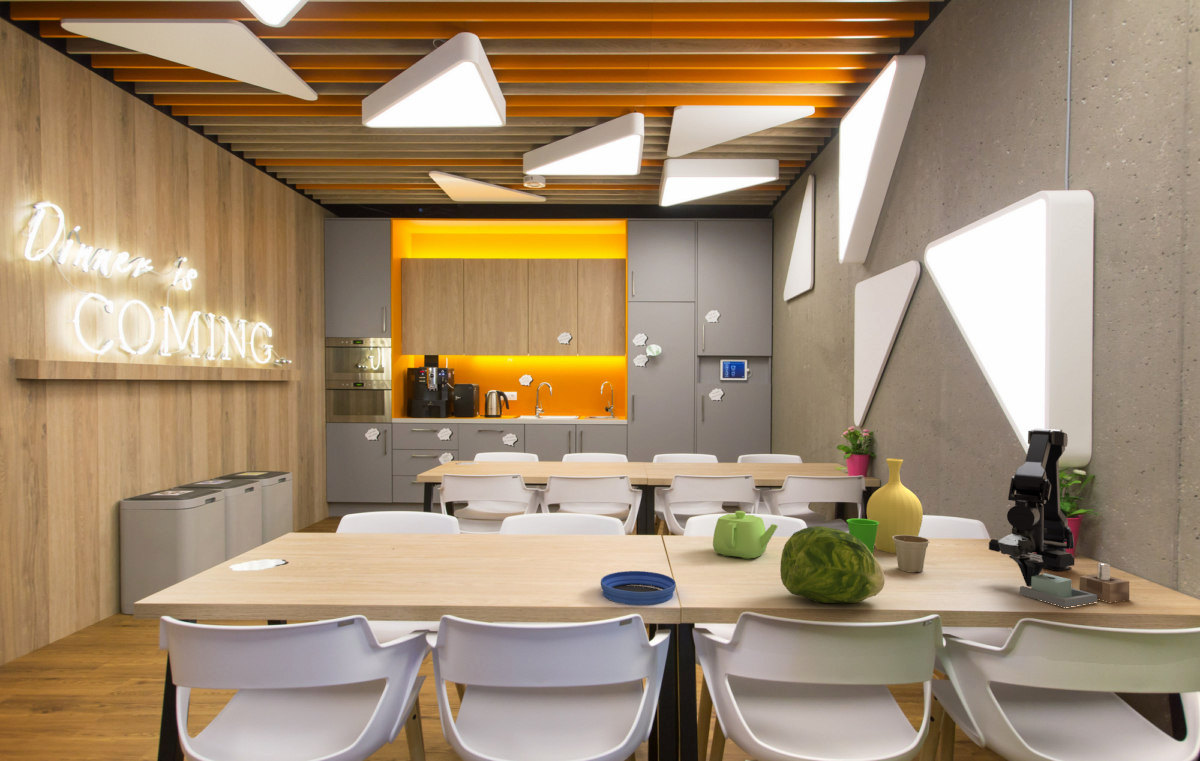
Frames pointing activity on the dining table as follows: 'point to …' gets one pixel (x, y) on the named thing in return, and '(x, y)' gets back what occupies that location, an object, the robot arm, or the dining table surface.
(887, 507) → the vase
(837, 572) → the lettuce
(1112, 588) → the block
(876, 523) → the cup
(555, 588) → the dining table surface
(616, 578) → the bowl
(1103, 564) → the cylinder
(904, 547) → the flower pot
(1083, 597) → the grey u-shaped bracket
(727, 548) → the teapot
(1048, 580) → the block
